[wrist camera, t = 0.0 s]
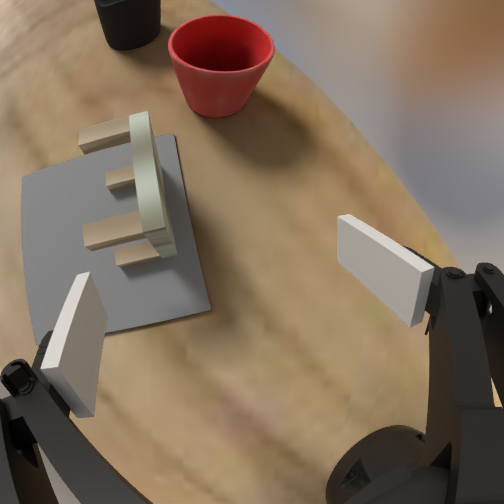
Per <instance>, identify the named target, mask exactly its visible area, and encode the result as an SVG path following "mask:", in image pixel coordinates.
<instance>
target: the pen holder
mask: <svg viewBox="0 0 504 504" xmlns="http://www.w3.org/2000/svg"><path fill="white" fill-rule="evenodd" d="M94 2H95V5H96V9H97V12H98V15H99V19H100V22H101V25H102V29H103V32H104V35H105V38H106V41H107V43H108V44H109V45H110V46H111V47H113V48H115V49H121V50H127V49H133V48H137V47H140V46H143V45H145V44H147V43H149V42H150V41H152V40H153V39H154V38H155V37H156V36H157V35H158V33H159V32H160V18H161V8H160V0H94Z"/></svg>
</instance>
